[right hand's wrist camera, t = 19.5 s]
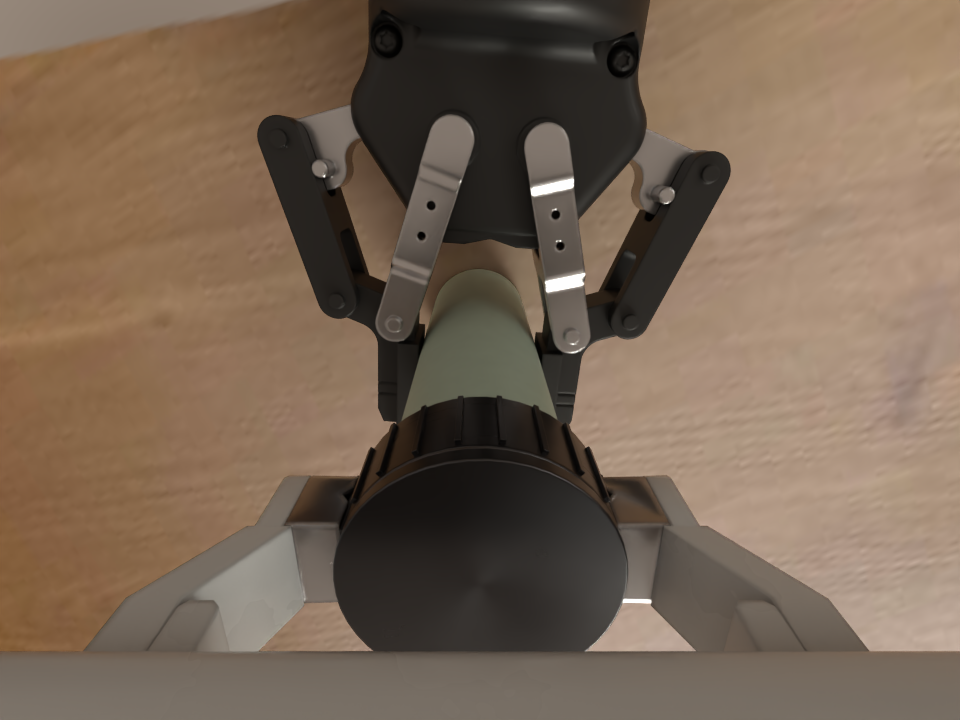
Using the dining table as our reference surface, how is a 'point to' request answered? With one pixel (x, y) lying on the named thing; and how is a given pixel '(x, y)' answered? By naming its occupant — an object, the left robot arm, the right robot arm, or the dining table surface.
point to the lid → (480, 535)
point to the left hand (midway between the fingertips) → (474, 429)
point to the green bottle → (478, 346)
